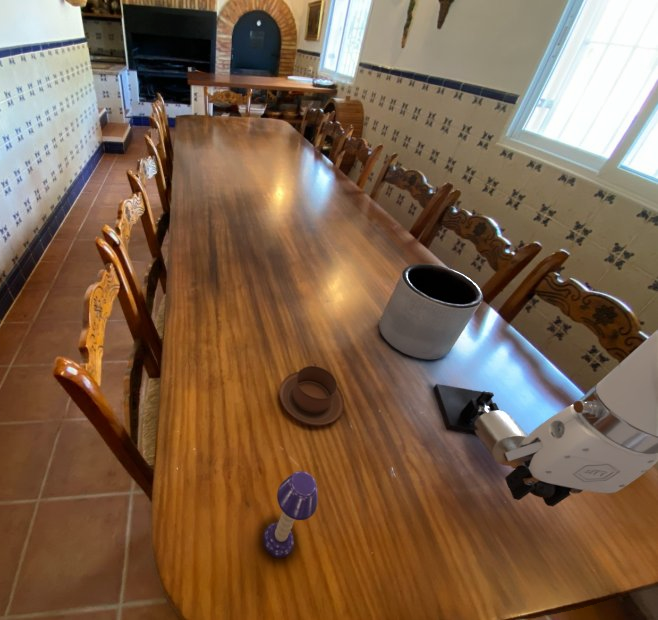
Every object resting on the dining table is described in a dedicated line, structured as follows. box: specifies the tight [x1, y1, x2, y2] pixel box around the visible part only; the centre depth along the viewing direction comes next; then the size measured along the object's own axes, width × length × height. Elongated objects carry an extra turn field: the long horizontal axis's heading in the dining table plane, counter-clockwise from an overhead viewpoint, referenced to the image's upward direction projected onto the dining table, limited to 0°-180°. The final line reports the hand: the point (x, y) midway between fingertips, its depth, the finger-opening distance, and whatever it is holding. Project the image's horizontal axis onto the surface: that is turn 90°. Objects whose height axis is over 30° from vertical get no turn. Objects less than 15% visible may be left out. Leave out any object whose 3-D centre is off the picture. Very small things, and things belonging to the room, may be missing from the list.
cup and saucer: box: [279, 362, 345, 427], centre depth 66 cm, size 12×12×6 cm
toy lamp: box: [262, 470, 318, 559], centre depth 44 cm, size 5×5×17 cm
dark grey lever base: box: [433, 383, 500, 436], centre depth 66 cm, size 10×10×7 cm
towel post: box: [474, 405, 557, 499], centre depth 56 cm, size 6×6×19 cm
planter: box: [378, 263, 484, 360], centre depth 79 cm, size 16×16×16 cm
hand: (528, 491), depth 51 cm, fingers closed on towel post, 3 cm apart
